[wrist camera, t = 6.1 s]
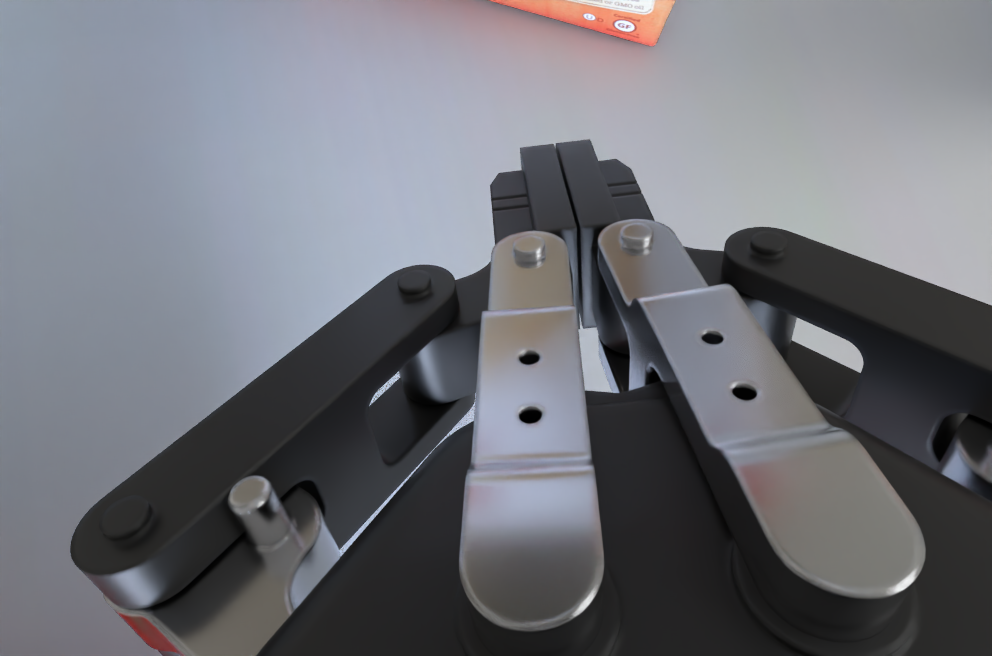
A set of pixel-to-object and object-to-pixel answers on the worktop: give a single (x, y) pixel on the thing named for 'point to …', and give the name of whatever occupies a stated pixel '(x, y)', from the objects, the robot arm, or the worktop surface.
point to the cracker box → (605, 15)
